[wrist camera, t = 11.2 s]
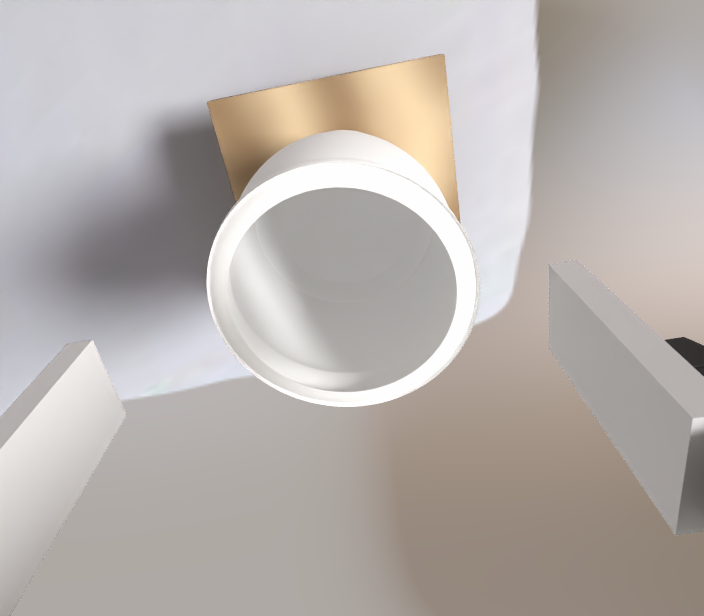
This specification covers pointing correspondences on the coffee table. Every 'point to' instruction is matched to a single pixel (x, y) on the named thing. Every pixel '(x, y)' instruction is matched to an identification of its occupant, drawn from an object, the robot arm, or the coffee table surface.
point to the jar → (343, 273)
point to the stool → (344, 118)
